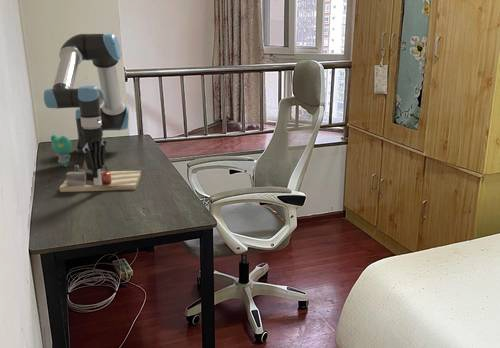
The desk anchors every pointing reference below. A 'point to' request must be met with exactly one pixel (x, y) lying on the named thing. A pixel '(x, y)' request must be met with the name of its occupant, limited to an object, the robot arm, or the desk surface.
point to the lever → (105, 176)
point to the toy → (61, 148)
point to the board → (118, 182)
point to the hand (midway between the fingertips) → (98, 184)
